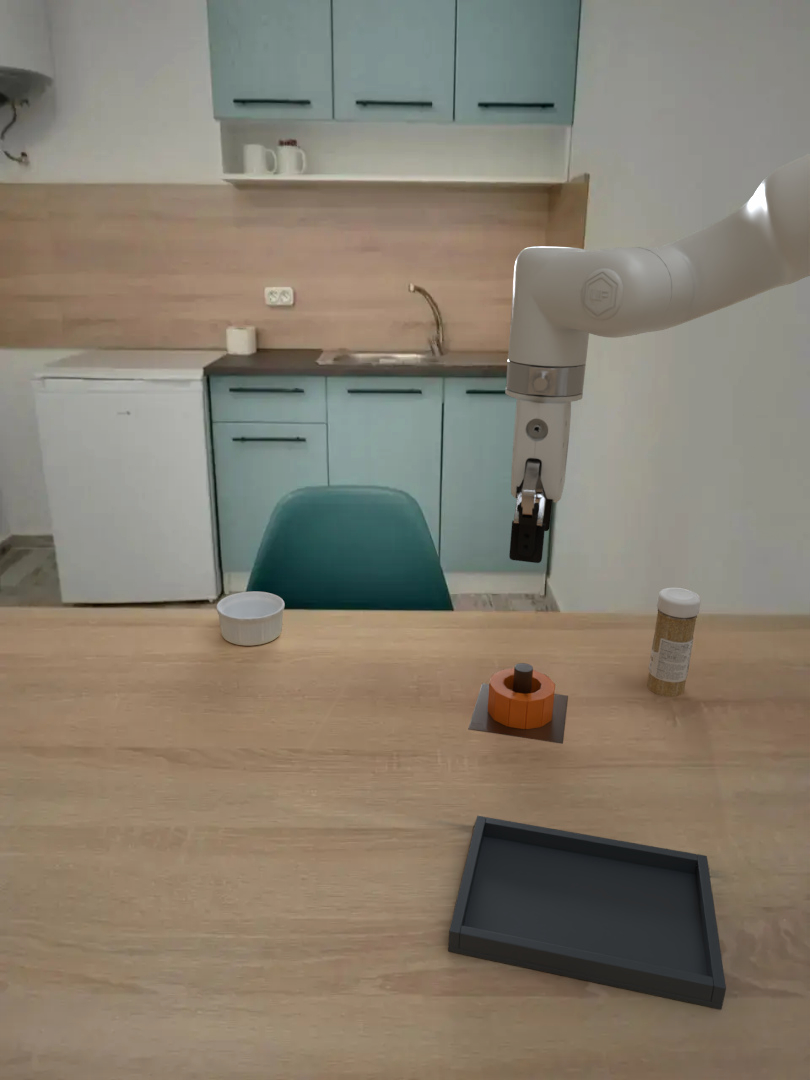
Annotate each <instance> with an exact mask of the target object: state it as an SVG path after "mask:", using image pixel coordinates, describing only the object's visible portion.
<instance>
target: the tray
mask: <svg viewBox="0 0 810 1080" xmlns="http://www.w3.org/2000/svg"><path fill="white" fill-rule="evenodd" d="M465 860H466V861H465V864H464V869H463V873H462V877H461V881H460V885H459V889H458V894H457V897H456V902H455V906H454V909H453V914H452V918H451V922H450V926H449V929H448V930H449V931H448V945H447V946H448V947H447V951H448V952H449V953H454V954H460V955H464V956H468V957H473V958H478V959H482V960H487V961H492V962H497V963H502V964H506V965H511V966H516V967H520V968H525V969H529V970H533V971H539V972H544V973H547V974H548V973H549V974H552V975H558V976H561V977H566V978H567V977H568V978H572V979H577V980H581V981H585V982H591V983H596V984H601V985H604V986H608V987H614V988H619V989H624V990H629V991H632V992H638V993H643V994H648V995H652V996H656V997H657V996H658V997H661V998H666V999H670V1000H676V1001H679V1002H684V1003H689V1004H694V1005H699V1006H704V1007H709V1008H712V1009H717V1010H722V1009H723V1005H724V1001H725V995H726V991H727V986H726V985H727V984H726V979H725V971H724V964H723V957H722V951H721V944H720V936H719V930H718V923H717V916H716V909H715V902H714V895H713V889H712V882H711V875H710V868H709V861H708V856H707V855H704V854H699V853H693V852H687V851H681V850H675V849H670V848H664V847H658V846H653V845H647V844H642V843H635V842H629V841H625V840H618V839H613V838H607V837H602V836H598V835H597V836H596V835H591V834H585V833H579V832H574V831H568V830H562V829H558V828H557V829H556V828H551V827H546V826H545V827H544V826H539V825H533V824H529V823H528V824H527V823H524V822H517V821H511V820H505V819H499V818H494V817H488V816H484V815H483V816H482V815H477V816H476V819H475V823H474V828H473V831H472V836H471V840H470V844H469V848H468V853H467V856H466V859H465Z"/></svg>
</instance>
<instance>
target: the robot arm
mask: <svg viewBox="0 0 810 1080" xmlns="http://www.w3.org/2000/svg"><path fill="white" fill-rule="evenodd" d="M807 277H810V152H809V153H807V154H804V155H803V156H800V157H798V158H796V159H794V160H791V161H789V162H786V163H785V164H783V165H780V166H778V167H777V168H776V169H774V170H772V171H771V172H770V173H768V175H766V177H764V179H763V180H762V181H761V182H760V184H759V185H758V187H757V189H756V190H755V192H754V193H753V195H752V196H751V197H750V198H749V199H748V200H747V201H746V202H745V203H744V204H742V205H741V206H740V207H738V208H737V209H736V210H734V211H732V212H731V213H730V214H728V215H726V216H724V217H723V218H721V219H719V220H716V221H715V222H713V223H711V224H709V225H707V226H705V227H702V228H700V229H698V230H696V231H694V232H691V233H689V234H686V235H684V236H682V237H680V238H678V239H675V240H674V241H670V242H668V243H666V244H664V245H660V246H657V247H651V246H645V247H644V246H642V247H641V246H635V247H609V248H601V249H593V250H587V249H584V248H581V247H580V248H579V247H569V246H568V247H567V246H530V247H529V246H528V247H526V248H524V249H522V250H521V251H520V252H519V253H518V255H517V257H516V259H515V262H514V270H513V282H512V296H511V308H510V310H511V311H510V324H509V337H508V339H509V340H508V351H507V353H508V354H507V366H506V367H507V368H506V380H505V391H504V393H505V395H506V396H508V397H511V398H513V399H516V403H515V412H514V413H515V415H514V425H513V427H514V428H513V438H512V439H513V441H512V456H511V479H510V494H511V495H512V497H513V498H515V499H516V502H515V506H514V507H515V508H514V515H513V520H512V521H511V529H510V530H511V531H510V542H509V543H510V544H509V554H508V555H509V559H510V560H511V561H515V562H516V561H518V562H523V563H524V562H526V563H532V564H533V563H534V564H539V563H541V562H542V559H543V553H544V541H545V532H548V531H549V530H550V527H551V518H552V509H553V503H557V502H559V501H560V500H561V499H562V496H563V491H564V487H565V482H566V472H567V462H568V451H569V444H570V443H569V442H570V432H571V417H572V416H571V415H572V402H577V401H580V400H582V399H583V397H584V396H583V395H584V384H585V375H586V367H587V358H588V357H587V356H588V348H589V339H590V334H591V335H593V336H598V337H603V338H613V339H614V338H615V339H617V338H625V337H631V336H637V335H640V334H646V333H647V334H648V333H652V332H659V331H664V330H668V329H671V328H674V327H676V326H679V325H683V324H685V323H688V322H691V321H693V320H695V319H699V318H701V317H704V316H706V315H709V314H711V313H714V312H717V311H720V310H722V309H725V308H728V307H730V306H733V305H735V304H738V303H740V302H743V301H745V300H748V299H750V298H753V297H755V296H757V295H758V296H759V295H760V294H762V293H765V292H767V291H770V290H773V289H775V288H779V287H784V286H788V285H791V284H794V283H796V282H798V281H800V280H802V279H804V278H807Z"/></svg>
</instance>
